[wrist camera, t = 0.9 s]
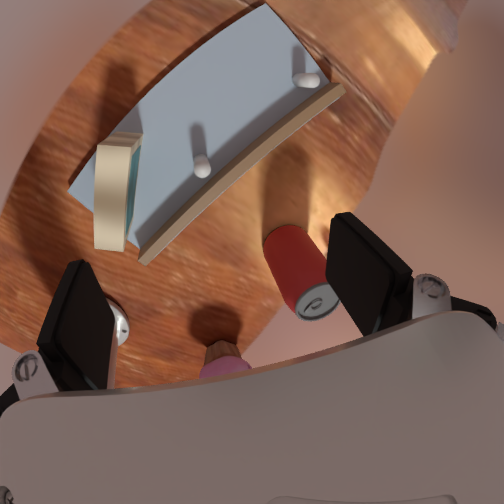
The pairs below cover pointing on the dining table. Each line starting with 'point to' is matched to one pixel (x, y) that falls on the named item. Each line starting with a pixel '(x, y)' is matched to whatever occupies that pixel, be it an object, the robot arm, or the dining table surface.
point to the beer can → (300, 273)
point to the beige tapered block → (115, 189)
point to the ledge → (214, 123)
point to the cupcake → (222, 360)
